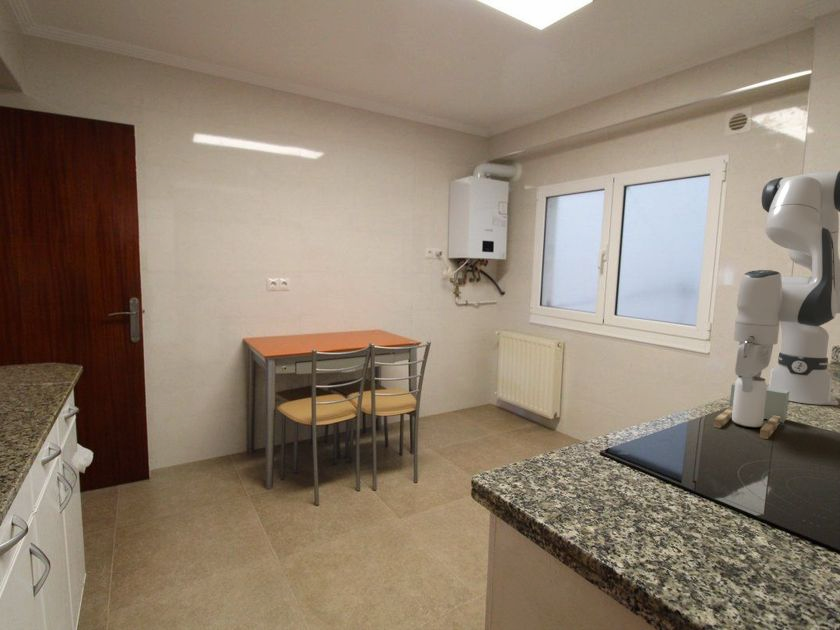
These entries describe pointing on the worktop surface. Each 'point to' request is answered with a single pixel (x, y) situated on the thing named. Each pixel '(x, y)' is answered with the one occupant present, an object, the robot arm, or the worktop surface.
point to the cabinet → (771, 402)
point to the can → (749, 403)
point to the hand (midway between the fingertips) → (750, 389)
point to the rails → (764, 431)
